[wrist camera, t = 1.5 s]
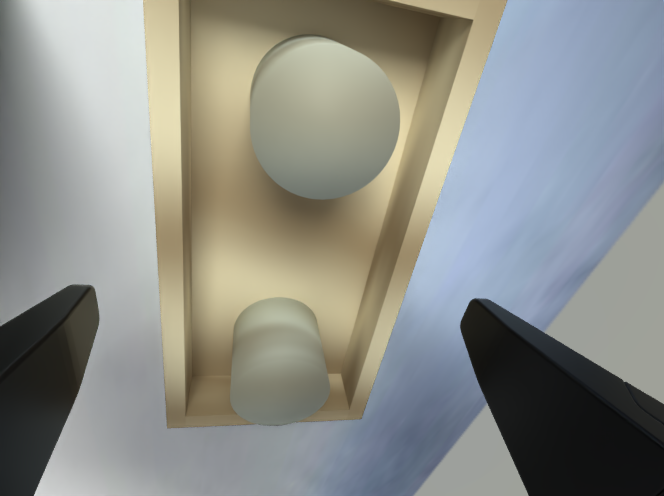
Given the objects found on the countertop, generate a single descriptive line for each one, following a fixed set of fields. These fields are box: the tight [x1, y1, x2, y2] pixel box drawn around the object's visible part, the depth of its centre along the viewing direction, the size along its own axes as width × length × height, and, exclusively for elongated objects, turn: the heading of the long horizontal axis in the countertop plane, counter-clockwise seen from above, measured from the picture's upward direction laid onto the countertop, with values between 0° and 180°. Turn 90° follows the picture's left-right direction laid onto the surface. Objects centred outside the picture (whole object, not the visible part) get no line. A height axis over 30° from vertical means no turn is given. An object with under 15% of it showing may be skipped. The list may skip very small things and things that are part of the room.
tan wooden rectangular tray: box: [143, 0, 507, 428], centre depth 11 cm, size 14×7×4 cm, turn 170°
